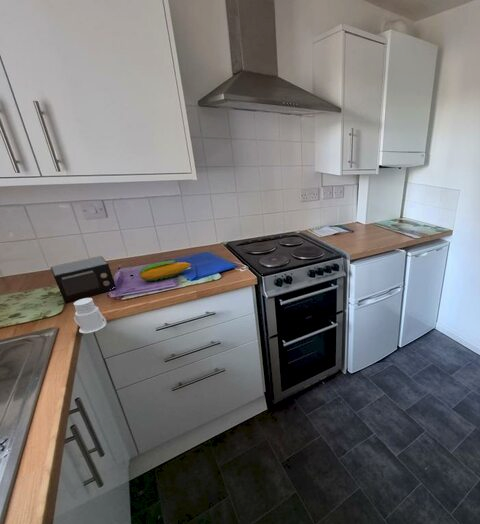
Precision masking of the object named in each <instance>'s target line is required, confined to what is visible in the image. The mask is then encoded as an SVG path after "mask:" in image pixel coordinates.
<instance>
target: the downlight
mask: <svg viewBox="0 0 480 524" xmlns="http://www.w3.org/2000/svg"><path fill="white" fill-rule="evenodd" d="M73 307H74V308H75V313H74V317H72V318H73V320H74V322H75V324H76V325H78V327H80V328H79V330H78V331H79V334H92V333H95V332H98V331H100V330H102V329H103V328H105V327H106V326H107V319H106V317H105V316H104V315H103V313H101V311H100V309H99V306H96V304H95V302H94V300H93V298H92V297H86V298H83V299H79V300H76V301H73Z"/></svg>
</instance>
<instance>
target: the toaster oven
mask: <svg viewBox="0 0 480 524" xmlns="http://www.w3.org/2000/svg"><path fill="white" fill-rule="evenodd" d="M50 270H51V273H52V275H53V278H54V280H55V283H56V285H57V287H58V290H59V292H60V295H61V297H62V299H63V302H64V303H65V304H66V303H67V304H68V303H69V304H70V303H72V302H76V301H78V300H80V299H84V298H91V297H93V296H97V295H100V294H104V293H107V292H111V291H115V290H116V289H117V285H116V282H115V280H114V276H113V274H112V270H111V267H110V265H109V263H108V261H106V260H105V258H104V257H103V256H101V255H98V256H94V257H89V258H84V259H80V260H75V261H70V262H66V263H65V262H64V263H60V264H56V265H52V266H50ZM113 287H116V288H115V289H112V288H113ZM110 289H111V290H110Z"/></svg>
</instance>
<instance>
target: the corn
mask: <svg viewBox="0 0 480 524" xmlns="http://www.w3.org/2000/svg"><path fill="white" fill-rule="evenodd" d="M191 265H192V264H191V263H189V262H185V261H183V262H182V261H181V262H177V260H165V261H160V262H156V263H152V264H148V265H146V266H144V267H143V268H142V269H141V270H140V272H139V277H140V279H142V280H143V281H147V282H155V281H160V280H164V279H163V278H165V279H169V278H173V277H176V276H177V275H178V274H180V273H182V272H184V271H186V270H188V269H189V268H190V267H191ZM168 277H169V278H168ZM158 279H160V280H158ZM153 280H154V281H153Z"/></svg>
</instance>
